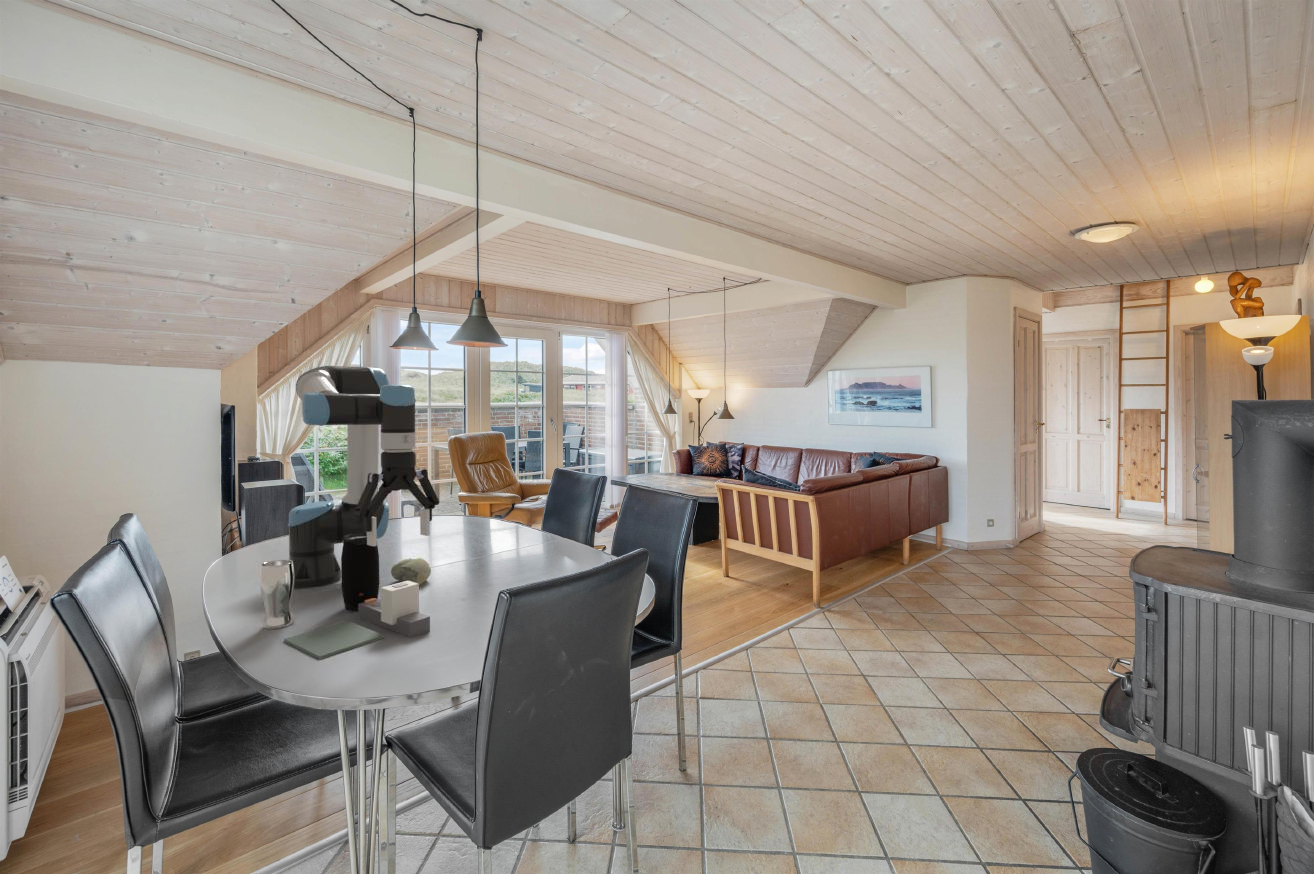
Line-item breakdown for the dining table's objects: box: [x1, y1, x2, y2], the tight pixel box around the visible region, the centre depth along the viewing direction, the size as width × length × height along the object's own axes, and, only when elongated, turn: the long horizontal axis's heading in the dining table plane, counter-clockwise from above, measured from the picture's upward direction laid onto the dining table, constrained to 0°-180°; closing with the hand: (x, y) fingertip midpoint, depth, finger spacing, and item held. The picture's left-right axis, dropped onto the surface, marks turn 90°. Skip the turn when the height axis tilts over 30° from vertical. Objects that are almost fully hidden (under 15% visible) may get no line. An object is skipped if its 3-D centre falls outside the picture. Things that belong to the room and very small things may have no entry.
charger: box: [380, 581, 420, 625], centre depth 139 cm, size 4×7×8 cm, turn 146°
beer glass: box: [259, 558, 295, 630], centre depth 139 cm, size 7×7×15 cm
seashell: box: [390, 557, 432, 586], centre depth 174 cm, size 13×8×10 cm
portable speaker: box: [340, 532, 380, 612], centre depth 152 cm, size 8×9×19 cm
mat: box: [283, 620, 385, 660], centre depth 131 cm, size 16×14×1 cm
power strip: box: [357, 598, 431, 638], centre depth 140 cm, size 22×5×4 cm, turn 56°
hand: (399, 540), depth 138 cm, fingers open, 13 cm apart
